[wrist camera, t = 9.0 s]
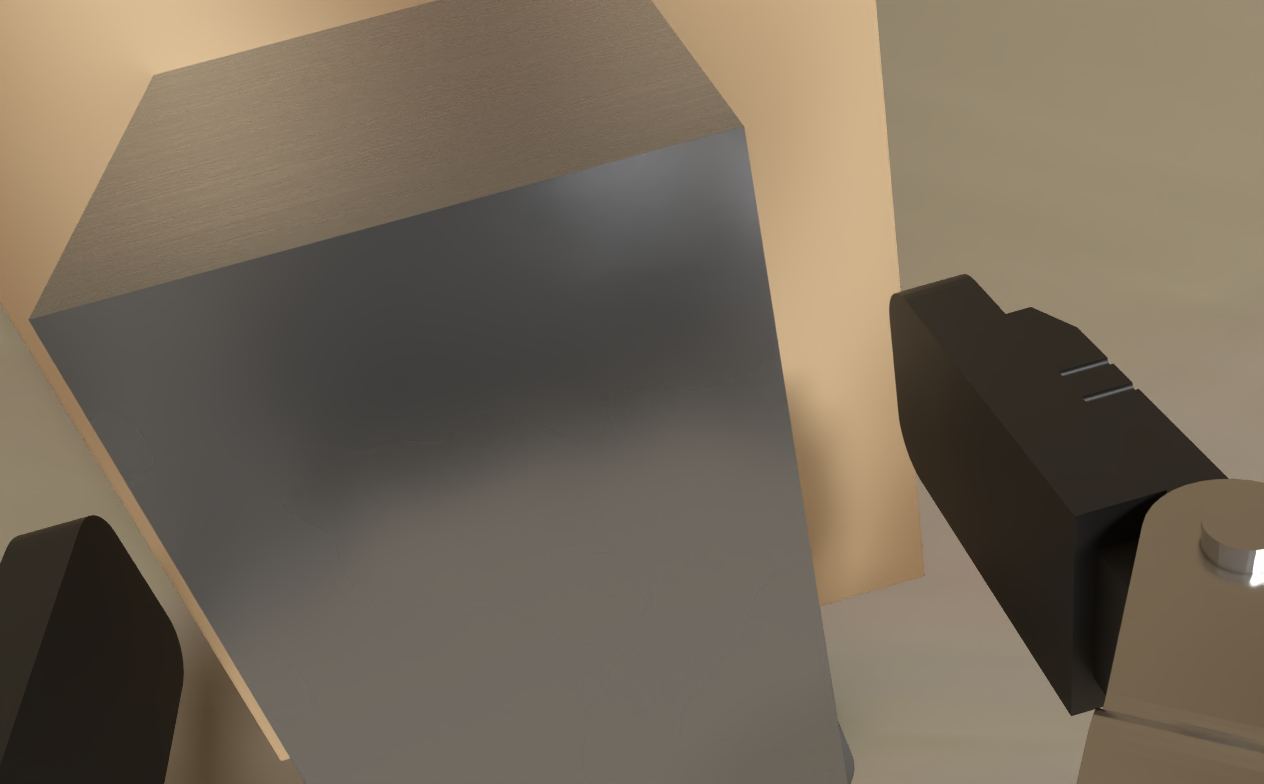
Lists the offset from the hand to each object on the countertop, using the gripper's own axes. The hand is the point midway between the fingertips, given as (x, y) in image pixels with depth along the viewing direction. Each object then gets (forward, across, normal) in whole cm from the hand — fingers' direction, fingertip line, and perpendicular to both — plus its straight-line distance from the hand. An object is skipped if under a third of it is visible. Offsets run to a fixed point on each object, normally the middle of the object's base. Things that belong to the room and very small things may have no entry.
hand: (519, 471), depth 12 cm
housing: (+3, 0, 0) cm, 3 cm away
